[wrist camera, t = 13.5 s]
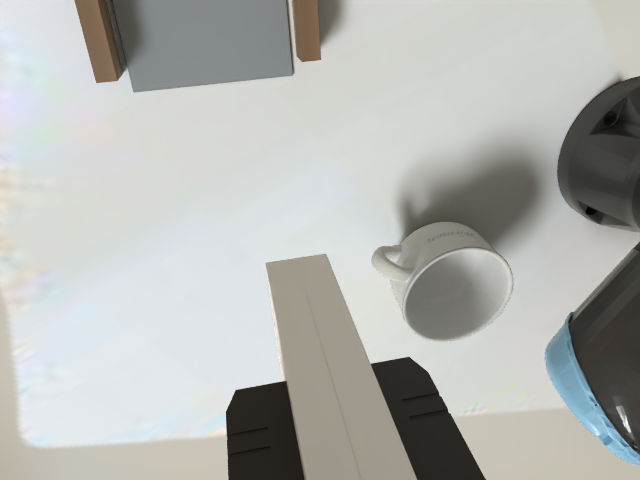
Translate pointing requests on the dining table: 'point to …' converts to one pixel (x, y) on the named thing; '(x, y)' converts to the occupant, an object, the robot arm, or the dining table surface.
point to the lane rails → (105, 49)
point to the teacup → (446, 280)
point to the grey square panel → (203, 41)
